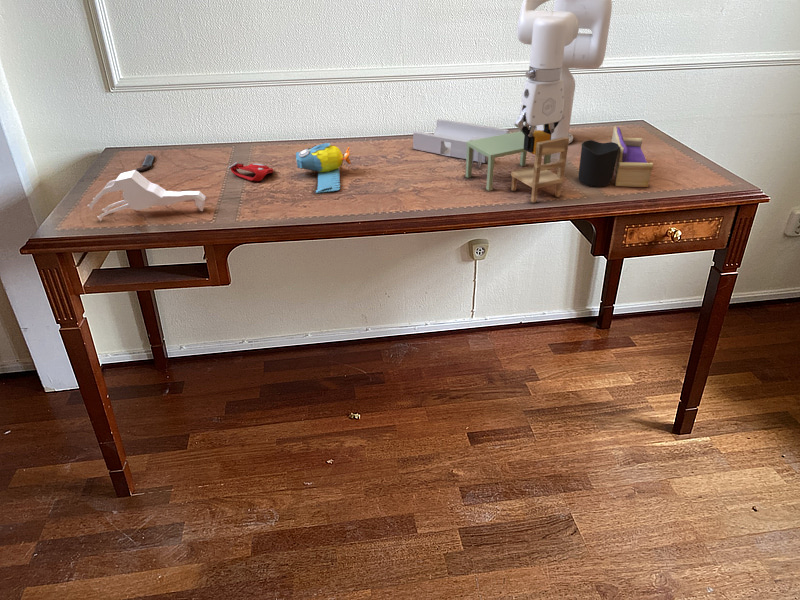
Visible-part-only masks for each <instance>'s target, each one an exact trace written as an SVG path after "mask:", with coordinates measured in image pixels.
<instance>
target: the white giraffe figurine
mask: <svg viewBox="0 0 800 600" xmlns="http://www.w3.org/2000/svg"><path fill="white" fill-rule="evenodd" d="M121 191H122V195H121V198H122V199H123V200H119V201H116V202H114V203H111V204H109V205H106V207H105V208H102V209H101V211H103V213H101V214H100V215H97V216H96V218H97V219H98V220H99V221H100V222H102V220H103V218H104V217H105V216H107V215H110V214H112V213H116V212H121V211H123V210H125V209H128V210H129V209H130V210H132V211H133V210H134V211H137V212H138V211H139V212H140V211H143V210H146V209H150V208H152V207H156V206H158V207H159V206H160V207H163V206H173V205H176V204H178V203H181V202H185V201H191V200H194V205H195V207H196V208H197V209H198V210H199V211H200V212H203V211H204V208H205V201H206V198H207V196H206V195H205V194H203V192H202V191H200V190H182V191H181V190H180V191H178V190H176V191H174V190H166V188H164V187H161V185H159V184H157V183H153V182H151V181H150V180H149V179H148V178H146V177H145V176H144V175H143V174H142V173H140V172H138V171H136V169H133V170H129V171H124V172H121V173H119V175H118V176H117V178H116V179H113V180H112V179H111V180H109V181H108V182H107V184H106V185H105V186H104V187H103V188H102V189H101V190H100V191H99V192H98V193H97V194H96V195H95V196H94V197H92V200H91V202H90V203H89V204H87V207H88V208H89V209H90V210H91V211H92V210H93V208H94V206H95V204H97V203H98V201H99V200H100V199H101V198H102V197H103V196H104V195H105V194H107V193H114V192H121ZM120 205H121V206H120ZM117 206H118V207H117ZM113 207H115V208H113ZM111 208H112V209H111Z"/></svg>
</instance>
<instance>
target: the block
mask: <svg viewBox="0 0 800 600" xmlns="http://www.w3.org/2000/svg"><path fill="white" fill-rule="evenodd" d="M533 137H534V148H533V152H532V153H531V154H532V155H534V156H535V153H536V144H537V143H538V142H543V141H548V140H550V137H551V135H550V134H548V133H546V132H543V131H541V130H537V129H536V130H534V133H533Z"/></svg>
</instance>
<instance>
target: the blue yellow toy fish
mask: <svg viewBox="0 0 800 600" xmlns="http://www.w3.org/2000/svg"><path fill="white" fill-rule="evenodd" d="M350 148H351V146H348V148H347V149H346V150H345V153H344V154H343V152H342V151H341V148H339V147H337V145H332V144H331V143H329V142H324V143H321V144H315V145H313V146H312V147H311V148H310V147H308V148H307V147H306V148H304V149H302V150H300V151H296V152H295V160H296V167H297V168H298V169H300V170H302V169H303V170H308V171H311V172H317V189H316V190H315V194H323V193H324V194H325V193H326V194H327V193H330V192H336V191H340V190H341V183H340V182H341V175H340V174H341V173H340V170H341V169H340V168H341V166H342V165H343V163H344V160H345V161H346V163H347V164H349V165H351V164H352V163H351V159H350V158H351V150H350Z"/></svg>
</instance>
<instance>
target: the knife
mask: <svg viewBox="0 0 800 600" xmlns="http://www.w3.org/2000/svg"><path fill="white" fill-rule="evenodd" d="M154 159H155V155H152V154H149V153H147V154H146V156H145V158H144V160H143V162H142V166H141V167H138V168H137V167H136V169H135V170H136V171H138V172H139V173H140V172H144V171H145V172H146V171H147V170H150V168H152V166H153V162H154Z"/></svg>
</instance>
